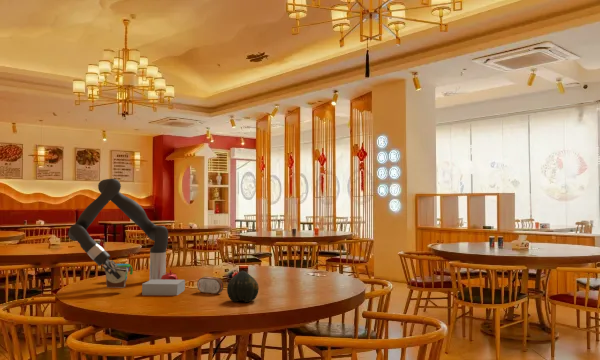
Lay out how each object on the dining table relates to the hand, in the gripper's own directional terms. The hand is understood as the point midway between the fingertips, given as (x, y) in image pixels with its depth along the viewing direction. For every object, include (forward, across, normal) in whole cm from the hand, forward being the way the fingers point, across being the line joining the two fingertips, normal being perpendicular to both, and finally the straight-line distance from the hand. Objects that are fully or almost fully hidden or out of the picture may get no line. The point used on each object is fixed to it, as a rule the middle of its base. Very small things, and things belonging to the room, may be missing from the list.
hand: (121, 277), depth 267 cm
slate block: (+22, -2, -10) cm, 24 cm away
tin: (+39, -6, -27) cm, 47 cm away
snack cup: (-1, +39, +13) cm, 41 cm away
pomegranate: (+22, +18, -10) cm, 30 cm away
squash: (+51, -29, -39) cm, 70 cm away
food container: (+3, 0, +5) cm, 5 cm away
